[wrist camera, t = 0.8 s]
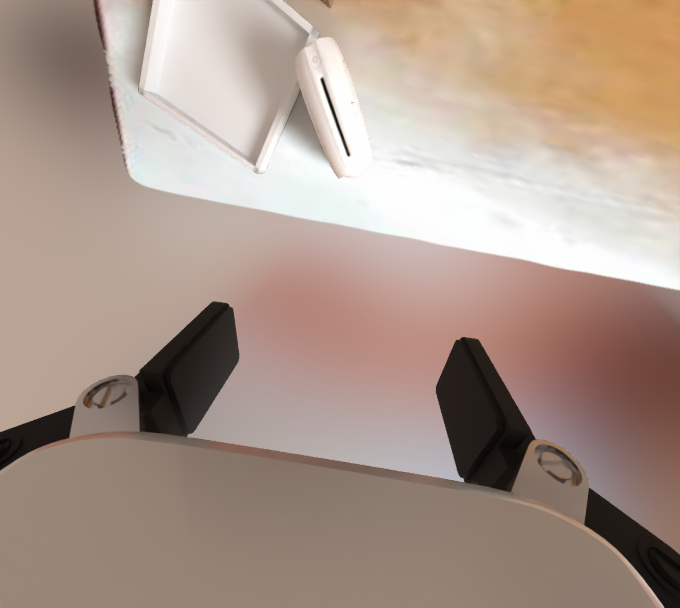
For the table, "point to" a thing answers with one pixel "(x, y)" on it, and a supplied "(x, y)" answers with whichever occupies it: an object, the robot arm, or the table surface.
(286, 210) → the table surface
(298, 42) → the tray
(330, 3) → the holder
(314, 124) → the photo printer
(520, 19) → the table surface
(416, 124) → the table surface
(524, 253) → the table surface
